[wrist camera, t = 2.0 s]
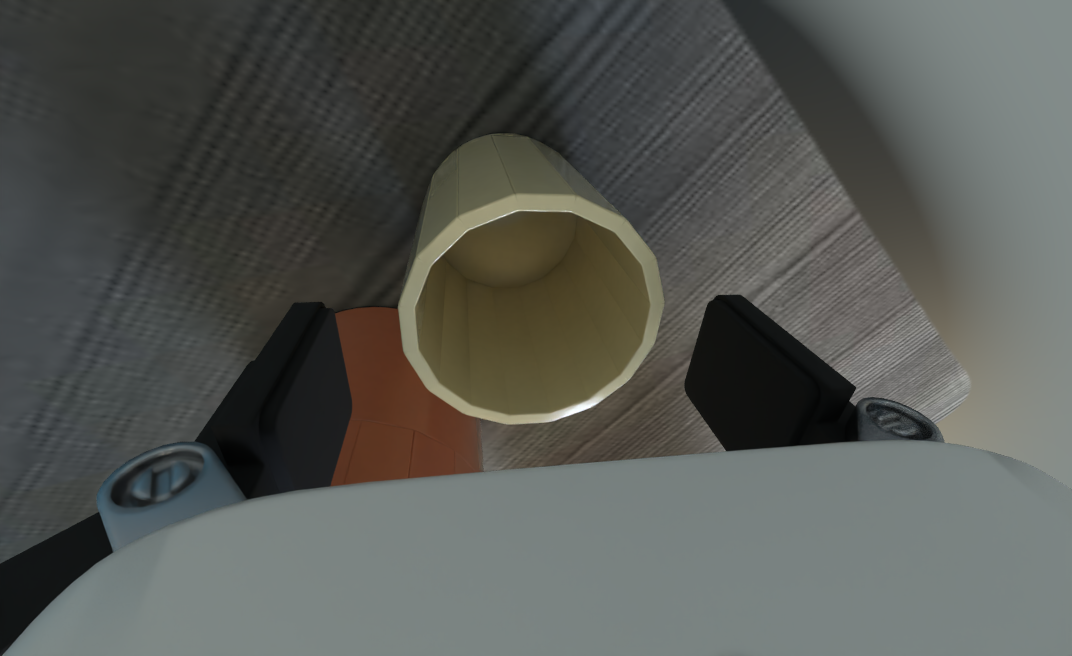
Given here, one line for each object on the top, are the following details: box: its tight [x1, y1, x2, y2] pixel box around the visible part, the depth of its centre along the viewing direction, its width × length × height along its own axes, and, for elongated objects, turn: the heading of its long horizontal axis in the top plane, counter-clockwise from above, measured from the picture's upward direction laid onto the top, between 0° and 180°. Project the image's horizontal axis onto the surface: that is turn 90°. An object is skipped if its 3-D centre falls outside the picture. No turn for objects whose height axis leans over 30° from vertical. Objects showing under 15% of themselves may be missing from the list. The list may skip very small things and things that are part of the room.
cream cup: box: [398, 133, 665, 425], centre depth 15 cm, size 7×7×9 cm
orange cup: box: [330, 307, 484, 486], centre depth 18 cm, size 10×10×12 cm
